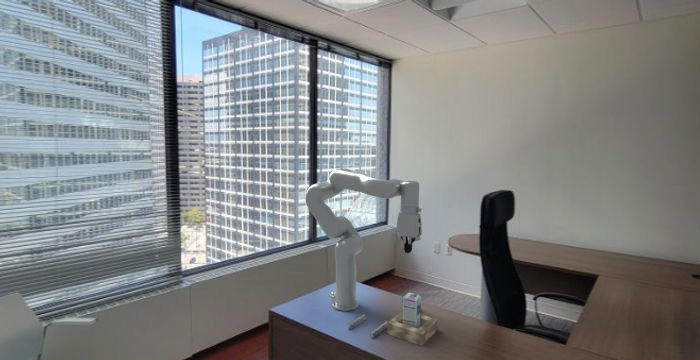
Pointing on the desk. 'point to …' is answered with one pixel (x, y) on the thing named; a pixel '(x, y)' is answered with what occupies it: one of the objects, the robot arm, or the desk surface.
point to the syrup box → (412, 310)
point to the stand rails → (362, 318)
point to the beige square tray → (412, 329)
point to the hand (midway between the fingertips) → (407, 252)
